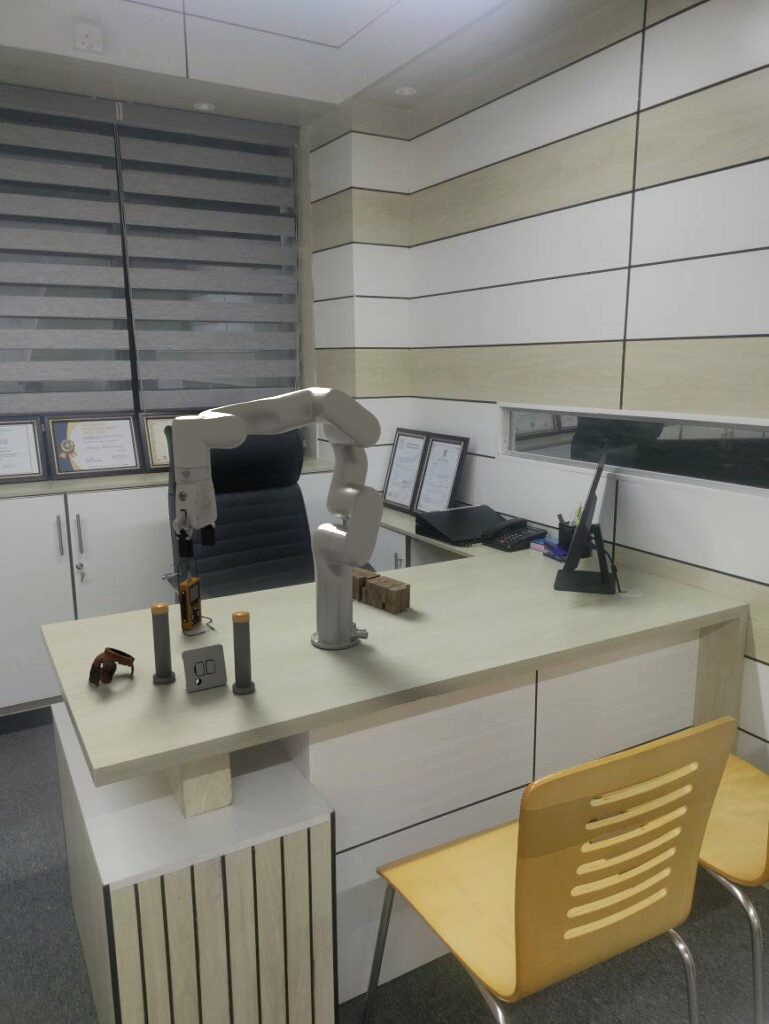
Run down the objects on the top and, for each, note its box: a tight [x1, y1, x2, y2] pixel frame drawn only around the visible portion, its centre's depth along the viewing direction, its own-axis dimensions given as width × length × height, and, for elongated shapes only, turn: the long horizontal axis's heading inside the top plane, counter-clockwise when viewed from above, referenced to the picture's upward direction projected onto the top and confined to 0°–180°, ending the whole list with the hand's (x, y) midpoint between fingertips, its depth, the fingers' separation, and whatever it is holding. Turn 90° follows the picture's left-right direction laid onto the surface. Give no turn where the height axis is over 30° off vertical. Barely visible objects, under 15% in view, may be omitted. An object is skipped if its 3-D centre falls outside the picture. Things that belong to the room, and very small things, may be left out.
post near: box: [231, 610, 256, 696], centre depth 164 cm, size 5×5×18 cm
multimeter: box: [177, 555, 218, 637], centre depth 202 cm, size 15×10×20 cm
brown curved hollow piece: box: [88, 647, 136, 687], centre depth 170 cm, size 12×10×8 cm
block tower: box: [351, 567, 411, 616], centre depth 227 cm, size 8×8×29 cm
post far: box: [150, 602, 176, 686], centre depth 169 cm, size 5×5×18 cm
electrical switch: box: [181, 643, 228, 693], centre depth 168 cm, size 9×5×9 cm, turn 121°
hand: (197, 551), depth 162 cm, fingers open, 9 cm apart
